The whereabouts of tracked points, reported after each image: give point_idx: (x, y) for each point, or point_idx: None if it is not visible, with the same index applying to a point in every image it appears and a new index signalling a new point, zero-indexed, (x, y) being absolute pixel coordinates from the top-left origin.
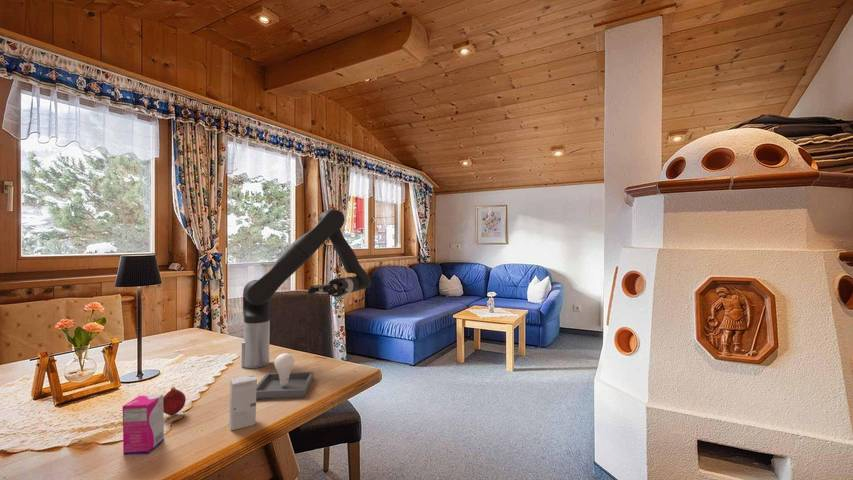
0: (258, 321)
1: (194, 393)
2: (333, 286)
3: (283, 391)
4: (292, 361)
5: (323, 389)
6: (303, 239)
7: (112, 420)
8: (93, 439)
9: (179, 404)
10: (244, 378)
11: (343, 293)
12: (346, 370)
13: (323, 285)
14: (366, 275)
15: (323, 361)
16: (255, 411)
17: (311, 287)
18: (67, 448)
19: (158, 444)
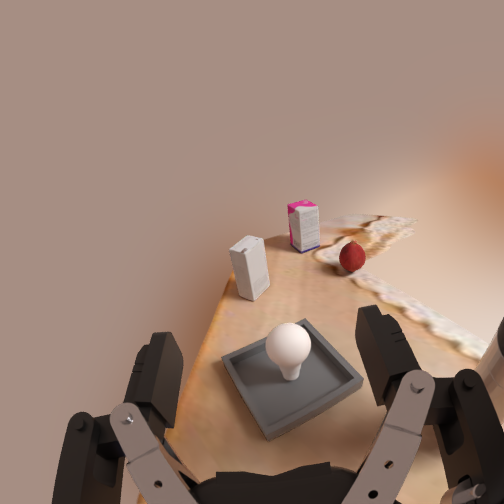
0: (499, 330)
1: (404, 302)
2: (189, 489)
3: (256, 342)
4: (266, 346)
5: (210, 404)
6: None
7: (389, 247)
8: (358, 235)
9: (339, 258)
10: (246, 244)
11: (96, 466)
12: None
13: (362, 469)
14: None
15: None
16: (236, 283)
17: (453, 380)
18: (357, 227)
19: (296, 248)
